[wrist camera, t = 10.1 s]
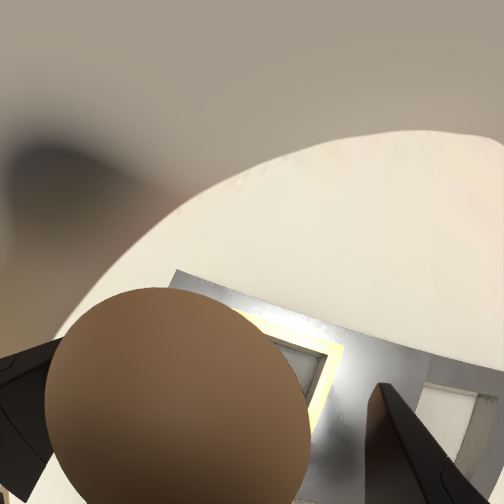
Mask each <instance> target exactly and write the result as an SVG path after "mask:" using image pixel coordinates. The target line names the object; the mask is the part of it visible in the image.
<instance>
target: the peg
mask: <svg viewBox="0 0 504 504" xmlns="http://www.w3.org/2000/svg"><path fill="white" fill-rule="evenodd" d="M45 417H46V425H47V429H48V434H49V438H50V441H51V444H52V447H53V450H54V453H55V455H56V458H57V460H58V462H59V464H60V466H61V468H62V470H63V472H64V473H65V475H66V476H67V478H68V480H69V481H70V483H71V484H72V485H73V487H74V488H75V489H76V491H77V492H78V493H79V495H80V496H81V497H82V498H83V499H84V500H85V501H86V502H87V503H88V504H291V502H292V501H293V499H294V497H295V496H296V494H297V492H298V491H299V489H300V487H301V485H302V482H303V480H304V477H305V474H306V472H307V468H308V463H309V458H310V453H311V426H310V418H309V412H308V408H307V404H306V401H305V397H304V394H303V391H302V389H301V387H300V384H299V382H298V380H297V377H296V375H295V373H294V372H293V370H292V368H291V367H290V365H289V364H288V362H287V360H286V358H285V357H284V356H283V354H282V353H281V352H280V351H279V349H278V348H277V347H276V346H275V344H274V343H273V342H272V341H271V340H270V339H269V338H268V337H267V336H266V335H265V334H264V333H263V332H262V331H261V330H260V329H259V328H258V327H257V326H256V325H255V324H253V323H252V322H251V321H249V320H248V319H247V318H246V317H244V316H243V315H242V314H240V313H239V312H237V311H235V310H233V309H232V308H230V307H228V306H227V305H225V304H223V303H221V302H219V301H216V300H214V299H212V298H209V297H207V296H205V295H201V294H198V293H194V292H191V291H187V290H180V289H174V288H153V287H152V288H143V289H135V290H131V291H128V292H124V293H120V294H118V295H115V296H113V297H110V298H108V299H106V300H104V301H102V302H100V303H99V304H97V305H95V306H94V307H92V308H91V309H90V310H88V311H87V312H86V313H85V314H83V315H82V316H81V317H80V318H79V319H78V320H77V321H76V322H75V323H74V324H73V325H72V326H71V328H70V329H69V330H68V332H67V333H66V334H65V336H64V337H63V339H62V340H61V342H60V344H59V346H58V348H57V349H56V351H55V354H54V356H53V359H52V362H51V364H50V368H49V372H48V376H47V380H46V388H45Z"/></svg>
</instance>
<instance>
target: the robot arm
mask: <svg viewBox="0 0 504 504" xmlns="http://www.w3.org/2000/svg"><path fill="white" fill-rule="evenodd" d="M62 339H63V337H62V338H59V339H56V340H53V341H50V342H47V343H45V344H42V345H39V346H36V347H33V348H30V349H27V350H25V351H22V352H19V353H18V354H17V353H16V354H13V355H10V356H7V357H4V358H1V359H0V490H1V489H2V487H5V488H6V489H7V490H8V491H10V492H11V493H12V494H13V495H15V496H16V497H17V498H19V499H20V500H21V501H23V502H24V503H26V502H27V500H28V499H29V497H30V495H31V493H32V491H33V489H34V487H35V485H36V483H37V482H38V480H39V478H40V476H41V474H42V472H43V471H44V469H45V467H46V464H47V463H48V461H49V460H50V458H51V456H52V454H53V453H54V450H53V447H52V444H51V441H50V438H49V434H48V429H47V425H46V417H45V388H46V380H47V376H48V372H49V368H50V364H51V362H52V359H53V356H54V354H55V351H56V349H57V348H58V346H59V344H60V342H61V340H62ZM0 504H4V498H3V493H1V492H0ZM365 504H490V503H489V502H488V501H487V500H486V499H485V498H484V497H483V496H482V495H481V493H480V492H479V491H478V490H477V489H476V488H475V487H474V486H473V485H472V484H471V483H470V482H469V481H468V480H467V479H466V478H465V476H464V475H463V474H462V473H461V472H460V470H459V469H458V468H457V467H456V466H455V464H454V463H453V462H452V460H451V459H450V458H449V457H447V454H446V453H445V451H444V450H443V449H442V448H441V446H440V445H439V444H438V442H437V441H436V440H435V438H434V437H433V436H432V435H431V433H430V432H429V431H428V430H427V428H426V427H425V426H424V424H423V423H422V422H421V421H420V419H419V418H418V417H417V416H416V414H415V413H414V412H413V411H412V409H411V408H410V407H409V405H408V404H407V403H406V402H405V400H404V399H403V398H402V397H401V395H400V394H399V393H398V392H397V391H396V389H395V388H394V387H393V386H392V384H390V383H387V382H378V383H377V384H376V386H375V388H374V390H373V392H372V394H371V396H370V398H369V400H368V405H367V421H366V434H365Z"/></svg>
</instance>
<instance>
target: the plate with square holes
mask: <svg viewBox="0 0 504 504" xmlns="http://www.w3.org/2000/svg"><path fill="white" fill-rule="evenodd" d="M168 288H174V289H180V290H187V291H191V292H194V293H198V294H201V295H205V296H207V297H209V298H212V299H214V300H216V301H219V302H221V303H223V304H225V305H227V306H228V307H230V308H232V309H233V310H235V311H237V312H239V313H240V314H242V315H243V316H244V317H246V318H247V319H248V320H249V321H251V322H252V323H253V324H255V325H256V326H257V327H258V328H259V329H260V330H261V331H262V332H263V333H264V334H265V335H266V336H267V337H268V338H269V339H270V340H271V341H272V342H274V343H277V344H280V345H283V346H286V347H289V348H292V349H294V350H297V351H300V352H303V353H306V354H310V355H313V356H316V357H319V358H321V359H320V362H319V365H318V367H317V370H316V373H315V375H314V378H313V381H312V383H311V386H310V389H309V391H308V394H307V396H306V399H305V401H306V404H307V408H308V412H309V418H310V426H311V453H310V458H309V463H308V468H307V472H306V474H305V477H304V480H303V482H302V485H301V487H300V489H299V491H298V492H297V494H296V496H295V497H294V498H297V499H301V500H305V501H309V502H314V503H319V504H365V434H366V421H367V405H368V400H369V398H370V396H371V394H372V392H373V390H374V388H375V386H376V384H377V383H378V382H387V383H390V384H392V386H393V387H394V388H395V389H396V391H397V392H398V393H399V394H400V395H401V397H402V398H403V399H404V400H405V402H406V403H407V404H408V405H409V407H410V408H411V409H412V411H413V412H414V413H415V410H416V407H417V404H418V401H419V398H420V395H421V392H422V389H423V386H425V387H429V388H434V389H438V390H443V391H448V392H453V393H458V394H463V395H468V396H474V397H477V400H476V403H475V407H474V410H473V414H472V417H471V420H470V423H469V426H468V429H467V432H466V435H465V438H464V441H463V443H462V446H461V449H460V451H459V454H458V456H457V459H456V461H455V463H454V464H455V466H456V467H457V468H458V469H459V470H460V472H461V473H462V474H463V475H464V476H465V478H466V479H467V480H468V481H469V482H470V483H471V484H472V485H473V486H474V487H475V488H476V489H477V490H478V491H479V492H480V493H481V495H482V496H483V497H484V498H485V499H486V500H487V501H488V499H489V497H490V495H491V493H492V491H493V489H494V487H495V485H496V483H497V480H498V478H499V476H500V473H501V471H502V469H503V466H504V372H503V371H498V370H494V369H490V368H486V367H481V366H477V365H473V364H469V363H465V362H461V361H457V360H454V359H450V358H446V357H442V356H438V355H435V354H431V353H427V352H424V351H420V350H417V349H413V348H409V347H406V346H402V345H399V344H395V343H392V342H389V341H385V340H382V339H378V338H375V337H372V336H368V335H365V334H362V333H359V332H355V331H352V330H349V329H346V328H343V327H339V326H336V325H333V324H330V323H327V322H324V321H321V320H318V319H315V318H312V317H309V316H306V315H302V314H299V313H297V312H294V311H291V310H288V309H285V308H282V307H279V306H276V305H273V304H270V303H267V302H264V301H262V300H259V299H256V298H253V297H250V296H247V295H245V294H242V293H239V292H236V291H233V290H231V289H228V288H225V287H222V286H220V285H217V284H214V283H212V282H209V281H206V280H204V279H201V278H198V277H196V276H193V275H190V274H188V273H185V272H183V271H180V270H176V272H175V274H174V276H173V278H172V281H171V283H170V285H169V287H168Z"/></svg>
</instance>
